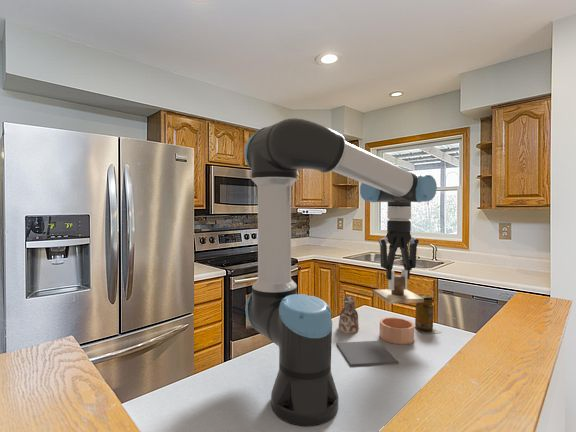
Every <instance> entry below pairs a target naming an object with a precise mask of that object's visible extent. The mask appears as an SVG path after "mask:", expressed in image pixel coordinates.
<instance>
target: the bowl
mask: <svg viewBox="0 0 576 432" xmlns="http://www.w3.org/2000/svg"><path fill="white" fill-rule="evenodd" d="M414 325H415V322H412V321H411V320H408V319H405V318H401V317H396V316H395V317H394V316H393V317H383V318H381V319H380V321H379V337H380V339H382V340H383V341H385V342H387V343H389V344H394V345H403V346H404V345H410V344H412V343H414V341H415V328H414Z"/></svg>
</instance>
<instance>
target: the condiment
mask: <svg viewBox="0 0 576 432" xmlns="http://www.w3.org/2000/svg"><path fill="white" fill-rule="evenodd" d="M417 295H418V296H420V297H422V298H424V302H417V303H415V315H414V317H415V321H414V330H417V331H419V332H420V333H422V334H425V335H427V334H429V335H430V334H440V333H442V331H440V330H438V329H437V328H434V310H435V309H434V306H435V305H434V303H433V302H434V301H433V299H434V298H433V296H432V295H429V294H417Z"/></svg>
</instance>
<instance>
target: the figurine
mask: <svg viewBox="0 0 576 432" xmlns="http://www.w3.org/2000/svg"><path fill="white" fill-rule="evenodd" d="M355 303H356V301H355V299H354V298H353V297H352V296H350V295H349V294H346V297H345V298H344V300H343V305H344V306H343V308H342V309H341V310H340V312H339V319H338V330H339V331H340V332H341V333H345V334H356V333H358V332H359V314H358V311H357V310H356V309H355V308H356V305H355Z"/></svg>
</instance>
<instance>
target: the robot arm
mask: <svg viewBox="0 0 576 432" xmlns="http://www.w3.org/2000/svg"><path fill="white" fill-rule="evenodd" d="M244 159H245V163H246V165H247V166H248V167H249V169H250V170H251V181H252V182H253V183H254V184H255V185H256V187H257V280H256V281H254V282H253V283H252V286H251V293H250V294H249V295H250V296H248V298H247V299H246V303H245V309H244V311H245V316H246V319H247V321H248V323H249V325H251V326H252V328H253V329H254V330H255V331H256V332H257V333H259V334H260V335H263V336H264V337H265V338H266V339H268V340H270V341H271V342H272V343H273V344H275V345H276V346H277V347H278V349H279V350H278V356H279V357H278V358H279V359H278V363H279V364H278V365H279V366H278V371H277V374H276V378H275V380H274V382H273V383H274V384H273V385H272V390H271V394H270V405H271V406H270V407H271V410H272V412H273V413H274V414H275V415H276V416H277V417H278V418H279V419H281V420H282V421H285V422H286V423H288V424H292V425H297V426H302V427H303V426H305V427H307V426H309V427H310V426H317V425H321V424H324V423H327V422H328V421H330V420H331V419H333V418H334V417H335V416H336V414H337V413H338V410H339V393H338V391H337V386H336V383H335V381H334V380H335V379H334V378H333V377H334V376H333V374H332V342H333V341H332V340H333V338H332V336H333V335H332V334H333V320H332V309H331V308H330V306H329V304H328V303H327V302H326V301H325V300H324V299H321V298H319V297H317V296H315V295H308V294H304V293H298V285H297V283H296V282H295V281H294V280H293V278H292V186H293V185H294V184H295V183H296V182H297V180H298V170H304V169H307V170H316V171H319V172H321V173H323V174H325V173H327V174H328V173H330V172H334V173H336V174H337V175H338V174H339V175H341V176H344V177H346V178H349V179H351V180H353V181H356V182H359V183H360V186H359V195H360V197H361V199H363V200H364V201H365V202H368V203H387V212H386V213H387V214H386V215H387V216H386V217H387V219H388V220H387V222H386V227H387V228H386V235H385V237H383V238H378V243H379V247H380V248H379V249H380V250H379V251H380V253H379V254H380V255H379V256H380V267H381V268H383V269H385V270H386V272H385V274H386V275H385V278H386V279H387V280H388V281H387V282H388V284H387V285H388V286H387V287H388V289H391V290H394V275H395V270H393V267H394V262H395V258H396V254H397V251H398V248H399V249H400V253H401V254H400V255H401V260H402V265H403V268H401V276H404V289H405V290H408V280H410V275H411V271H412V269H415V268H416V266H417V265H416V264H417V250H418V249H417V248H418V245H419V242H420V241H419V239H418V238H414V237H412V235H411V231H412V222H411V219H412V203H423V202H430V201H432V200H433V199H434V198H435V196H436V194H437V188H438V186H437V181H436V179H435V177H434V176H433V175H431V174H424V173H422V174H414V173H412V172H411V171H408V170H406V169H404V168H402V167H400V166H398V165H396V164H393V163H391V162H390V161H387V160H386V159H383V158H381V157H379V156H376V155H374V154H372V153H371V152H369V151H367V150H364V149H362V148H361V147H358V146H356V145H355V144H351V143H350V142H348V141H346V139H345V137H344V136H343V134H341V133H339V132H338V131H335V130H333V129H331V128H329V127H326V126H324V125H321V124H319V123H316V122H314V121H310V120H307V119H304V118H296V117H295V118H292V117H291V118H286V119H282V120H281V121H278V122H276V123H274V124H272V125H268V126H265V127H262V128H260V129H259V130H257V131H256V132H254V133H253V134H252V135H251V136H250V137H249V138H248V139H247V141H246V144H245V147H244ZM388 243H389V247H388V246H387V244H388ZM408 244H409V246H408ZM408 247H409V248H408ZM388 249H389V250H388ZM408 250H409V251H408Z"/></svg>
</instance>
